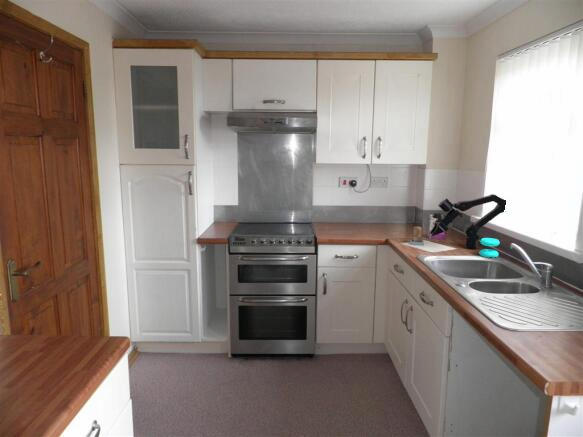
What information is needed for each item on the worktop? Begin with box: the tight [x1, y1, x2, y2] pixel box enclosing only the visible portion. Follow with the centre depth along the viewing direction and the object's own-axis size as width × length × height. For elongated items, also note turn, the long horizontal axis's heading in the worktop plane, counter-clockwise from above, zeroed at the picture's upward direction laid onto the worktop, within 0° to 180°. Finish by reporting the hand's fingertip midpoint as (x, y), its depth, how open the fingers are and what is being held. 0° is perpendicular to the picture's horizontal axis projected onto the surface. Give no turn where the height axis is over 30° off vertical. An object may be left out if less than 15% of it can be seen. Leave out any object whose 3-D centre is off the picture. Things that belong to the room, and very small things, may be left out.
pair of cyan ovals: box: [479, 237, 501, 259], centre depth 229 cm, size 10×10×10 cm
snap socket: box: [409, 239, 424, 246], centre depth 255 cm, size 8×8×2 cm
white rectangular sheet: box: [400, 239, 457, 253], centre depth 250 cm, size 21×27×1 cm
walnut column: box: [412, 226, 423, 242], centre depth 254 cm, size 4×4×11 cm
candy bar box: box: [427, 214, 447, 240], centre depth 275 cm, size 11×5×16 cm, turn 74°
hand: (431, 234), depth 252 cm, fingers open, 9 cm apart
